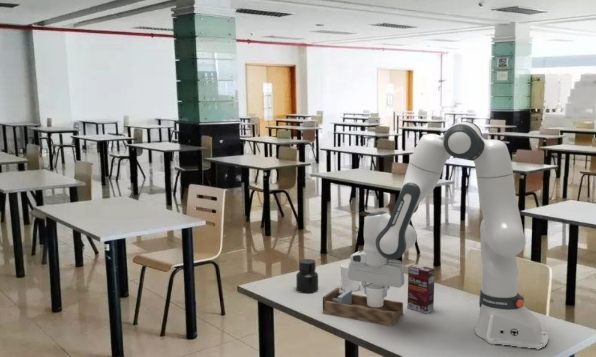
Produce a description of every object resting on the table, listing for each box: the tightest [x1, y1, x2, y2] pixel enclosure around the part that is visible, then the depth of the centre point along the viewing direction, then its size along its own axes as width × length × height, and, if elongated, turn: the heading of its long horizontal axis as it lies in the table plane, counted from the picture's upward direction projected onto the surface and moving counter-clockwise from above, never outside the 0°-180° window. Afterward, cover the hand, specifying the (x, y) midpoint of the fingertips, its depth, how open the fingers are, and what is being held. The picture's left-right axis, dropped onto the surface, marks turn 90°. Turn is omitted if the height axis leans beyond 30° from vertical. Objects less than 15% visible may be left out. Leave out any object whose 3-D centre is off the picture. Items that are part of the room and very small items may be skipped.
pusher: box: [332, 290, 353, 305], centre depth 215 cm, size 6×9×5 cm, turn 151°
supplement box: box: [406, 264, 436, 314], centre depth 214 cm, size 9×5×16 cm, turn 47°
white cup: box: [340, 262, 360, 292], centre depth 237 cm, size 8×8×10 cm
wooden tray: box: [322, 287, 404, 327], centre depth 211 cm, size 26×12×6 cm, turn 61°
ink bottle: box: [295, 258, 319, 294], centre depth 237 cm, size 10×9×12 cm
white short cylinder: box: [365, 283, 386, 307], centre depth 207 cm, size 7×7×7 cm
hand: (375, 295), depth 207 cm, fingers closed on white short cylinder, 5 cm apart
